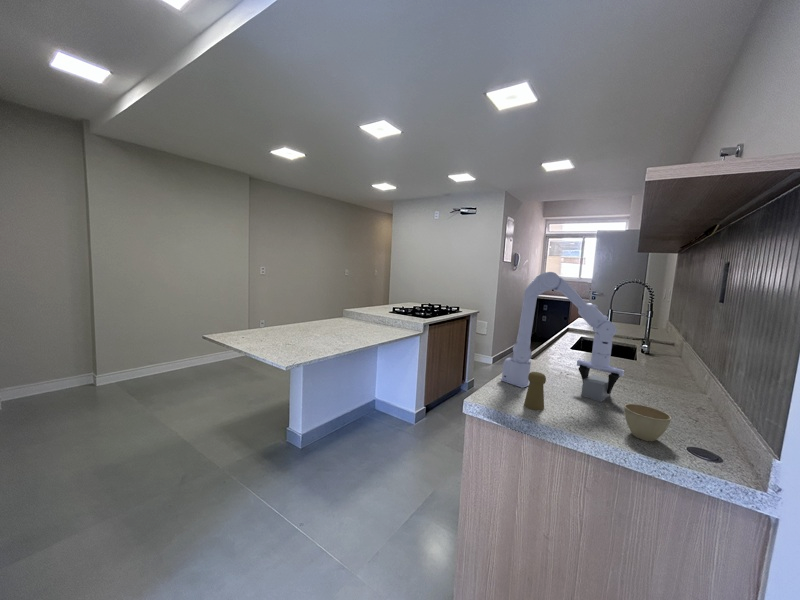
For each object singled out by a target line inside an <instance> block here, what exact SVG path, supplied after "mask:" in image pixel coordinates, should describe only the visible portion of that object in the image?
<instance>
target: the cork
mask: <svg viewBox="0 0 800 600" xmlns="http://www.w3.org/2000/svg"><path fill="white" fill-rule="evenodd" d="M528 380H529V382H530V383H529V386H527V387H528V388H527V390H526V391H527V392H526V395H525V399H524V403H523V406H524V407H525V406H526V407H525V408H527V409H529V408H530V409H529V410H532V411H537V410H542V411H544V410H545V393H544V392H545V391H544V386H545V384H546V381H547V377H546V375H545V374H544V373H542V372H537V371H530V373H529V375H528ZM543 409H544V410H543Z"/></svg>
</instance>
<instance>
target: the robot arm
mask: <svg viewBox="0 0 800 600" xmlns="http://www.w3.org/2000/svg"><path fill="white" fill-rule="evenodd" d="M552 290H553V291H555V292H559V293H561V294H563V295H564V296H565V298H567V299H568V300H569V301H570V302H571V303H572V304H573V305H574V306H575V307H576V308H577V309H578V311H577V313H578V315H579V316H580V317H581V318H582V319H583V320H584V321H585V322H586V323H587V324H588V325H589V326H590V327H591V328H592V330H593V332H594V336H593V341H592V351H591V357H590V361H588V360H587V361H586V360H582V359H577V360H576V366H577V367H578V372H579V375H581V380H582V382H583V379H585V378H587V377H589V376H590V375H589V374H590V369H592V370H596V371H601V372H604V373H608V376H607V378H608V379H609V380H608V389H607V394H610V395H611V394H612V390H613V388H614V386H615V384H616V382H617V381H618V380H619V378H620V377H624V375H625V369H622V368H618V367H614V366H611V365H610V362H611V355H612V349H613V338H614V336H615V335H616V334H617V332H618V330H617V327H616V325H615V324H614V322H612V321H610V320H608V319H609V317H608V316H607V315H604V314H603V313H602V312H601V311H600V310H599V309H598V308H599V306H598V305H597V304H593V303H591V302H586V301H585V300H584V299H583V298H582V297H581V296H580V295H579V294H578V292H577V291H576V290H575V289H574V288H573V287H572V286H571V285H570V284H569V283H568V282H567V281H566V280H565V279H563V278H562V277H560V276H559V275H558V273H556V272H553V271H547V272H542V273H541V274H538V275H537V276H536V277H535V278H534V279H533V280H532V281H531V282H530V283H529V284H528V285H527V286H526V287H525V289H524V293H523V299H522V306H521V311H520V312H521V314H520V319H519V325H518V332H517V337H516V340H515V341H516V342H515V343H513V346H512V352H513V354H512V356H511V357H507V358H505V360H504V361H503V363H502V364H503V365H502V374H501V379H500V381H502V382H505V383H508V384H510V385H513V386H516V387H519V388H521V389H522V388H525V387H528V386H529V383H530V382H529V380H528V375H529V373H531V365H532V364H531V363H532V360H531V358H532V351H531V339H532V338H531V337H532V331H533V326H534V318H535V312H536V307H537V302H538V301H537V300H538V299H537V298H538V297H539V296H540V295H542V294H544V293H545V292H547V291H552Z"/></svg>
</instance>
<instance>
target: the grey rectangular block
mask: <svg viewBox="0 0 800 600" xmlns="http://www.w3.org/2000/svg"><path fill="white" fill-rule="evenodd" d="M608 380H609V377H604V376H599V375H597V374H596V375H595V374H591V375H588V377H587V378H585V379H583V381H582V386H581V387H582V388H581V393H580V394H581V395H580V396H581V397H583V398H588V399H590V400H594V401H598V402H600V403H601V402H604V401H605V400H606V399H608V398H609V397H610V396H611V393H610V394H607V389H608Z"/></svg>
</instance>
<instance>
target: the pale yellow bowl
mask: <svg viewBox="0 0 800 600" xmlns="http://www.w3.org/2000/svg"><path fill="white" fill-rule="evenodd" d="M623 408H624V416H625V421H626V424H627V425H628V428H629V431H630V433H631V435H633V436H634V437H635V438H638V439H640V440H642V441H645V442H654V441H655V442H656V441H657V440H658V439H659V438H660V437H661V436H662V435H663V434H664V433H665V432H666V430H667V428H668V427H669V425H670V423H671V420H672V417H671V415H670V414H668V413H667V412H664V411H663V410H660V409H658V408H654V407H652V406H648V405H643V404H637V403H625V404H624V407H623Z"/></svg>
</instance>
